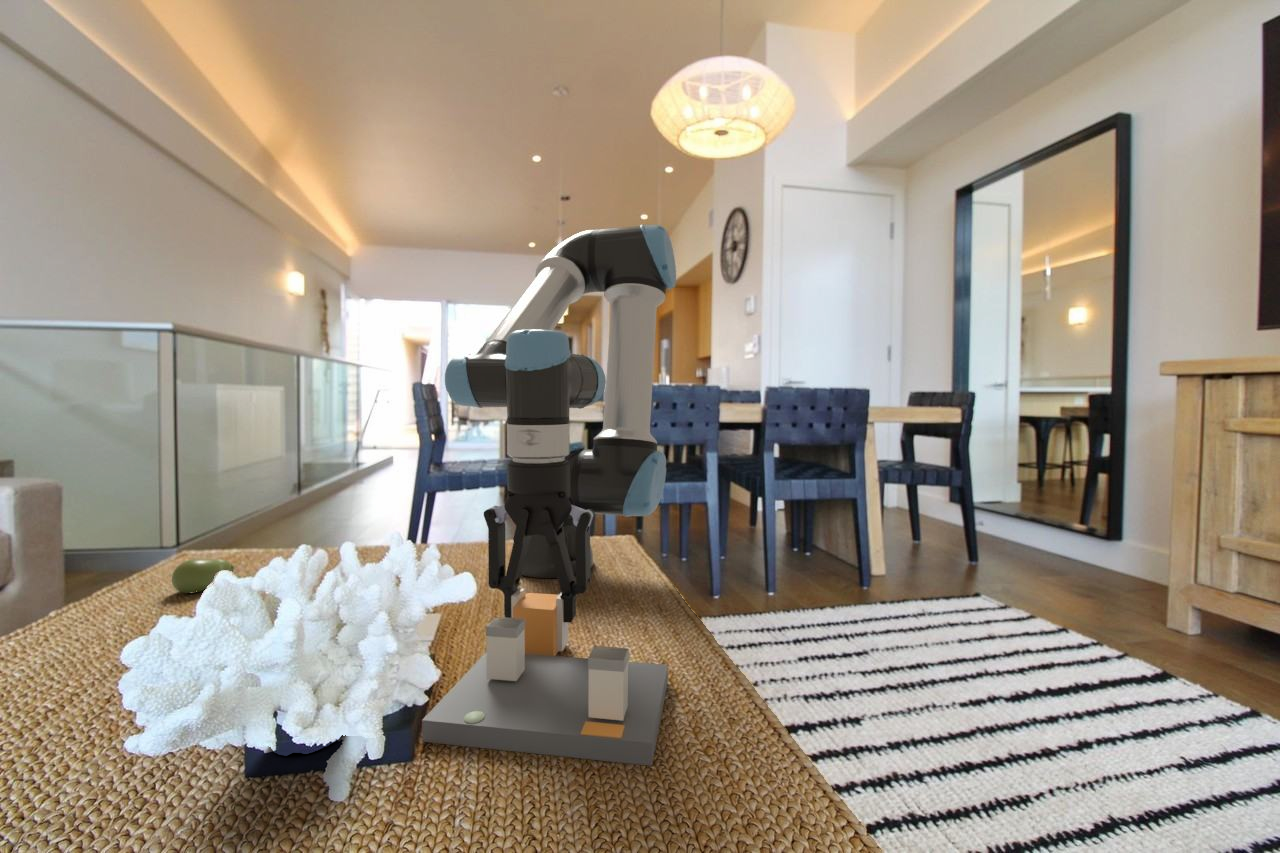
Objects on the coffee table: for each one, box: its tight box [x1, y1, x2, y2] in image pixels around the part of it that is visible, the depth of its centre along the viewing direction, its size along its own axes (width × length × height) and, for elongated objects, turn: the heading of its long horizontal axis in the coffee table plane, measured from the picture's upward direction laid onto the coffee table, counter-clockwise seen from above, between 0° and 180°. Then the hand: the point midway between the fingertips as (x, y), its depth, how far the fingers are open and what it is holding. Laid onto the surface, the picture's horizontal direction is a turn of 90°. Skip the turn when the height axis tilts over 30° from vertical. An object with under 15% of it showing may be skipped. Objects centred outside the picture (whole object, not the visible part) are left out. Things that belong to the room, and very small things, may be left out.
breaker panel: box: [421, 652, 669, 767], centre depth 55 cm, size 14×21×2 cm, turn 82°
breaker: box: [485, 616, 525, 681], centre depth 57 cm, size 2×3×6 cm
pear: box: [171, 558, 235, 594], centre depth 90 cm, size 6×5×10 cm
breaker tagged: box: [587, 645, 630, 721], centre depth 50 cm, size 2×3×6 cm
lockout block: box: [513, 592, 559, 656], centre depth 68 cm, size 5×5×6 cm
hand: (540, 644), depth 68 cm, fingers closed on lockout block, 5 cm apart
